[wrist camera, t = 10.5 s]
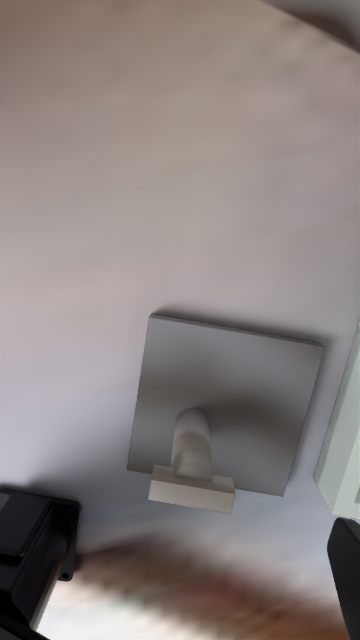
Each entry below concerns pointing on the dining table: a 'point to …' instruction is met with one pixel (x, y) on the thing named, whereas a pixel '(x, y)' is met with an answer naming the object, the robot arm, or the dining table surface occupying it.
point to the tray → (343, 445)
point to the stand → (219, 411)
